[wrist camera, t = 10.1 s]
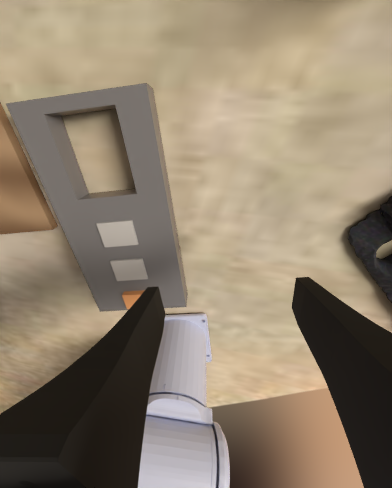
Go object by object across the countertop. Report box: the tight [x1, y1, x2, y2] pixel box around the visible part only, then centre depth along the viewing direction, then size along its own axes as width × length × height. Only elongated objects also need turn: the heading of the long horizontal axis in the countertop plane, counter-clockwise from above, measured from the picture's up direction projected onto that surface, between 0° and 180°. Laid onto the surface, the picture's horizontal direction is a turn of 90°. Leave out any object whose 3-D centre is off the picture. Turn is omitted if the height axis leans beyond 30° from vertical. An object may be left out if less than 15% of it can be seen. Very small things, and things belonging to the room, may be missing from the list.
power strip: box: [6, 83, 188, 311], centre depth 19 cm, size 20×10×3 cm, turn 6°
